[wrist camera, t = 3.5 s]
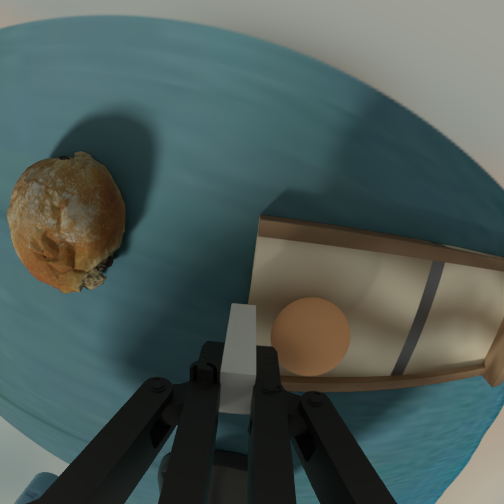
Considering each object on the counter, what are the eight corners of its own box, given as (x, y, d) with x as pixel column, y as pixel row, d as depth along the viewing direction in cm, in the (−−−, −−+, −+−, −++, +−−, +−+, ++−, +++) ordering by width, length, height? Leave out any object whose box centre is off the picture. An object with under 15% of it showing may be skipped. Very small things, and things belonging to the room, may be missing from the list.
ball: (329, 348, 20) (345, 392, 15) (264, 343, 20) (266, 390, 15) (346, 288, 18) (372, 325, 14) (274, 281, 18) (281, 319, 14)
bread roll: (145, 167, 21) (100, 112, 13) (139, 296, 19) (76, 292, 12) (56, 183, 21) (3, 149, 13) (46, 293, 20) (-20, 287, 12)
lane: (482, 363, 23) (500, 384, 18) (238, 371, 22) (236, 410, 18) (522, 261, 19) (548, 275, 15) (259, 214, 18) (261, 228, 14)
